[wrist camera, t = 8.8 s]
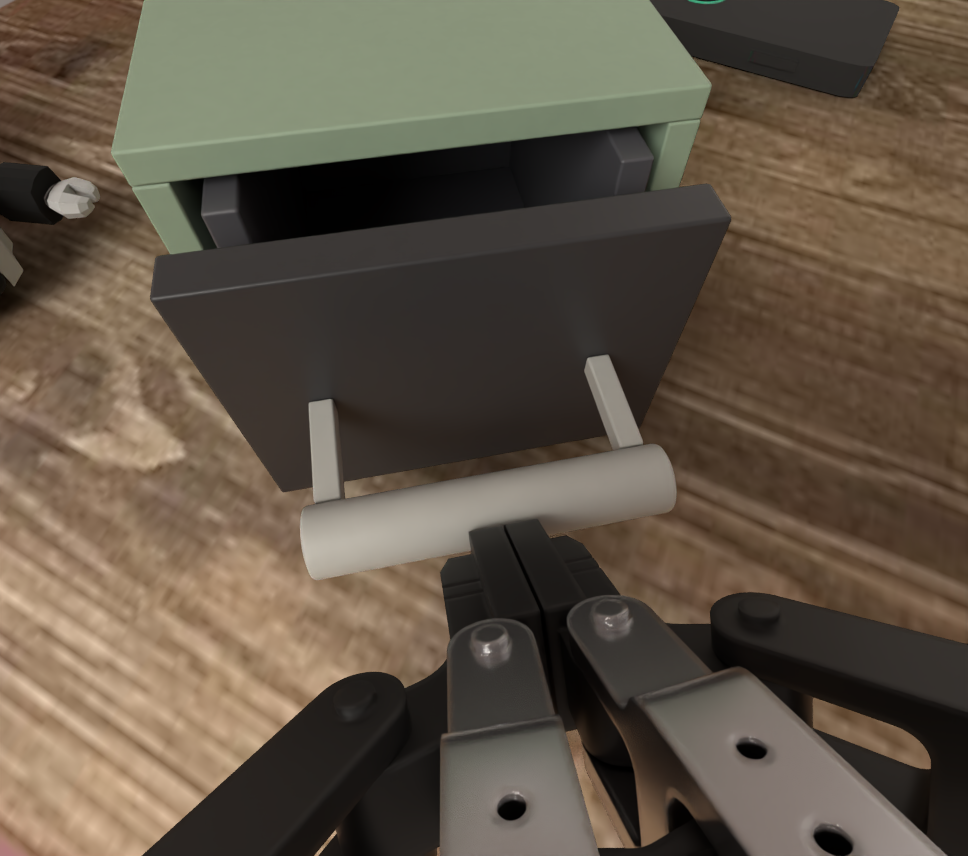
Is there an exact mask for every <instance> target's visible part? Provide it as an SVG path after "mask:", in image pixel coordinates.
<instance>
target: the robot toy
mask: <svg viewBox="0 0 968 856" xmlns="http://www.w3.org/2000/svg"><path fill="white" fill-rule="evenodd" d="M99 199H100V195H99V191H98V189H97V187H96V186H95V185H94V184H92V183H91V182H89V181H86V180H83V179H79V178H76V177H73V178H70V179H66V180H63V181H61V180H60V179H59V178H58V177H57V176H56V175H55V174H54V172H53V171H52V170H51V169H50V168H49V167H48V166H39V165H28V164H17V163H7V162H3V163H1V164H0V215H2V216H4V217H5V218H7V219H9V220H10V221H18V222H29V223H40V224H51V225H54V224H56V223H57V222H59V221H60V220H62V218H63V216H65V217H67V218H69V219H72V218H82V217H87V216H88V215H89V214H90V213H91V212H92V211H93V209H94V207H95V206H94V205H93V202H98V200H99ZM12 251H13V243H12V241H11V240H10V239H9V238H8V236H7V235H6V234H5V232H4V231H3V230H2V229H1V227H0V295H1V294H2V293H3V292H4V289H5V287H6V280H5V278H4V276H5V277H6V278H7V279H8V280H9V281H10V282H11V284H12V285H13V286H14V287H15V285H16V283H17V281H18V279H19V278H20V276H21V274H22V272H23V269H22V267H21V266H20V264H19V263H18V261H17V260H16V258H15V257H14V255H13V254H12ZM2 274H3V275H4V276H3V275H2Z"/></svg>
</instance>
